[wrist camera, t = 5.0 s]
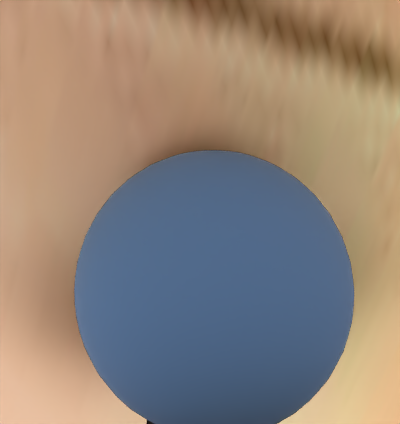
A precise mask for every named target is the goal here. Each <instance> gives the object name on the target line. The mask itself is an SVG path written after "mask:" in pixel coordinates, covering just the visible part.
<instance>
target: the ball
mask: <svg viewBox="0 0 400 424" xmlns="http://www.w3.org/2000/svg"><path fill="white" fill-rule="evenodd" d="M74 294H75V310H76V318H77V322H78V327H79V331H80V335H81V338H82V341H83V344H84V347H85V349H86V351H87V353H88V355H89V357H90V360H91V361H92V363H93V365H94V367H95V369H96V371H97V372H98V374H99V376H100V377H101V378H102V379H103V381H104V382H105V383H106V384H107V386H108V387H109V388H110V389H111V390H112V392H113V393H114V394H115V395H116V396H117V397H118V398H119V399H120V400H121V401H122V402H123V403H124V404H126V405H127V406H128V407H129V408H130V409H131V410H133V411H134V412H136V413H137V414H139V415H141V416H142V417H144V418H145V419H147V420H148V421H150V422H152V423H154V424H277V423H279V422H281V421H282V420H284V419H286V418H287V417H289V416H291V415H293V414H294V413H296V412H297V411H298V410H299V409H300V408H301V407H303V406H304V405H305V404H306V403H307V402H309V401H310V400H311V399H312V398H313V396H314V395H315V394H316V393H317V392H318V391H319V390H320V389H321V387H322V386H323V385H324V384H325V383H326V381H327V380H328V379H329V377H330V375H331V374H332V372H333V370H334V368H335V366H336V365H337V363H338V361H339V359H340V357H341V355H342V353H343V351H344V348H345V345H346V342H347V339H348V335H349V331H350V327H351V323H352V316H353V307H354V285H353V276H352V269H351V263H350V259H349V256H348V253H347V250H346V247H345V244H344V241H343V238H342V236H341V234H340V232H339V230H338V228H337V226H336V225H335V223H334V221H333V219H332V217H331V215H330V214H329V212H328V211H327V210H326V209H325V207H324V206H323V205H322V204H321V202H320V201H319V200H318V198H317V197H316V196H315V195H314V194H313V193H312V192H311V191H310V190H309V189H308V188H307V187H306V186H304V185H303V184H302V183H301V182H300V181H299V180H298V179H296V178H295V177H294V176H292V175H291V174H289V173H288V172H286V171H284V170H283V169H281V168H279V167H278V166H276V165H274V164H272V163H270V162H267V161H265V160H262V159H259V158H256V157H254V156H251V155H247V154H243V153H238V152H232V151H221V150H204V151H194V152H187V153H182V154H178V155H175V156H172V157H169V158H167V159H164V160H161V161H158V162H156V163H154V164H152V165H150V166H148V167H147V168H145V169H143V170H142V171H140V172H138V173H137V174H135V175H134V176H132V177H131V178H130V179H128V180H127V181H126V182H125V183H124V184H123V185H122V186H121V187H119V188H118V189H117V190H116V191H115V192H114V193H113V194H112V195H111V197H110V198H109V199H108V200H107V202H106V203H105V204H104V205H103V207H102V208H101V209H100V211H99V212H98V213H97V215H96V217H95V219H94V221H93V222H92V224H91V226H90V228H89V230H88V232H87V234H86V236H85V239H84V242H83V245H82V248H81V251H80V255H79V258H78V262H77V269H76V275H75V287H74Z"/></svg>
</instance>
